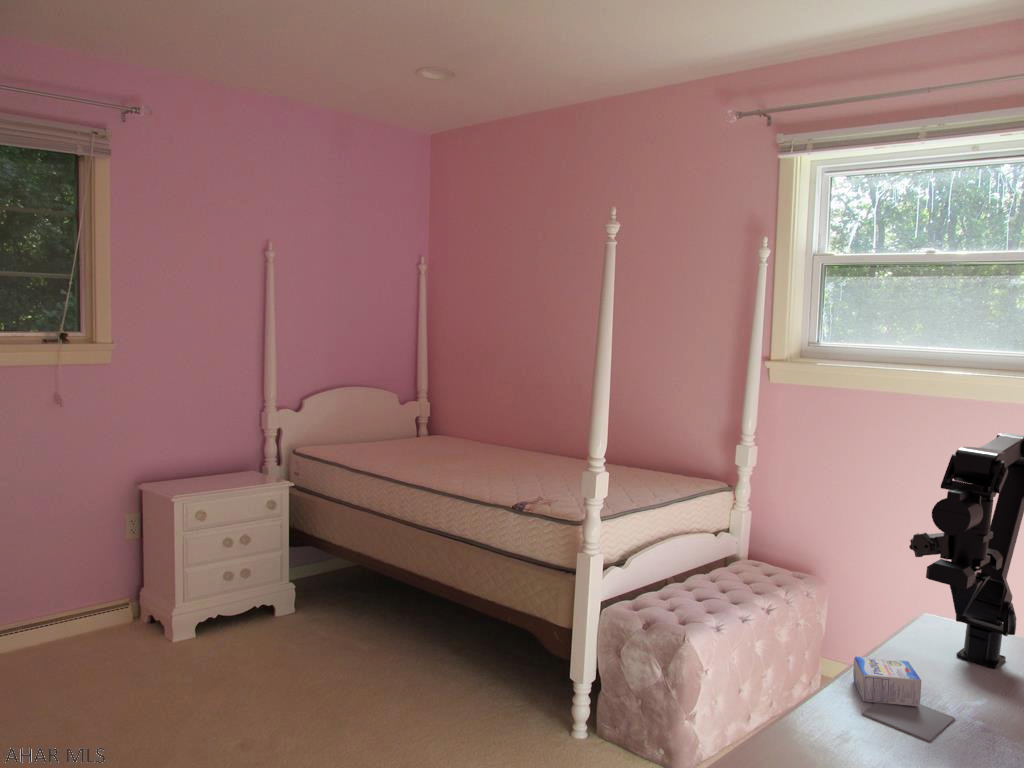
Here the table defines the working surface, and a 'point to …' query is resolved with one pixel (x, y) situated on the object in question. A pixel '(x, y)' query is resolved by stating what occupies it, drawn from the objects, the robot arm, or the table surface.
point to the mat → (910, 719)
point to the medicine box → (887, 681)
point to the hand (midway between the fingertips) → (959, 614)
